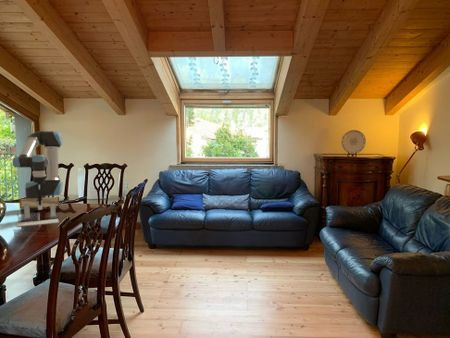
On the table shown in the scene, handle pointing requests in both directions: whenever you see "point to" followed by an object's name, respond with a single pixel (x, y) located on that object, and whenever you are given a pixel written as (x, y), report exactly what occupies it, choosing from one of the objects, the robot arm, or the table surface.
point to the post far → (53, 211)
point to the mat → (37, 222)
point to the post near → (27, 213)
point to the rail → (34, 202)
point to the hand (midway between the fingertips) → (40, 208)
